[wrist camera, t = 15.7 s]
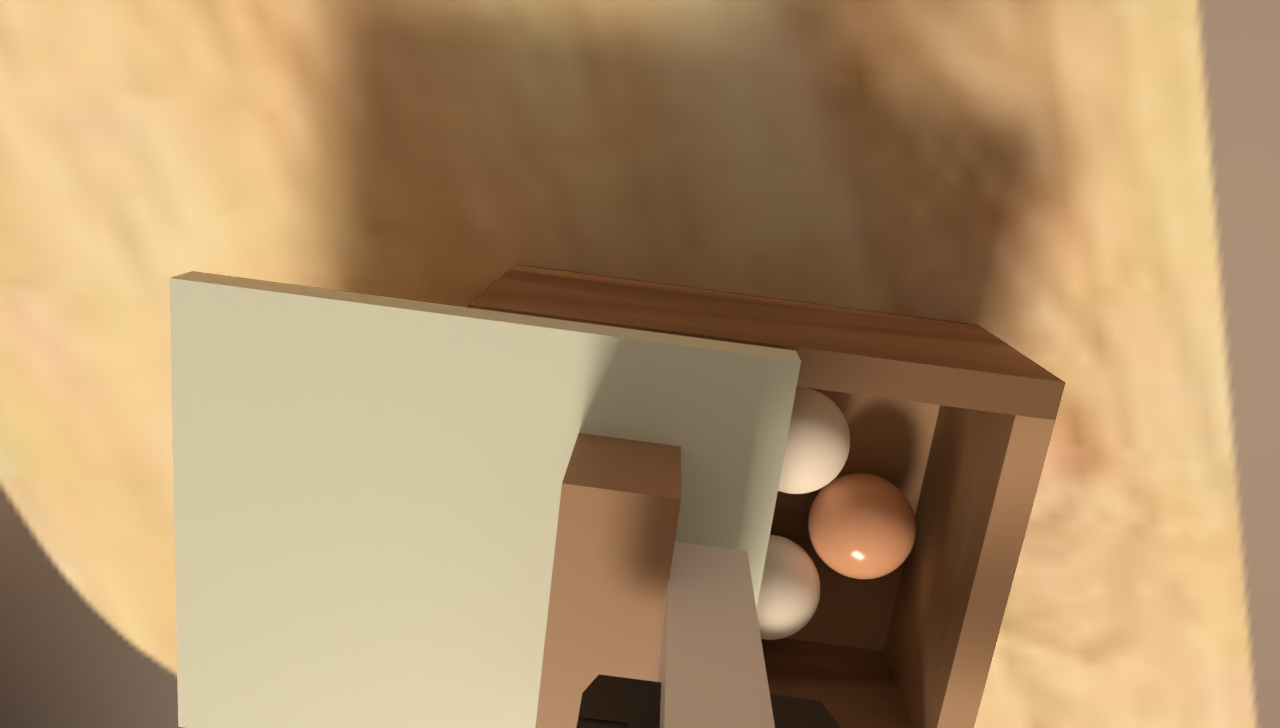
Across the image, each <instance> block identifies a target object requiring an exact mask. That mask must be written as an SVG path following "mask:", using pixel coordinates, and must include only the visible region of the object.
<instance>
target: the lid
mask: <svg viewBox="0 0 1280 728" xmlns="http://www.w3.org/2000/svg"><path fill="white" fill-rule="evenodd" d="M170 306H171V359H172V413H173V466H174V519H175V573H176V626H177V679H178V726H179V727H185V728H576V727H577V721H578V716H579V710H580V704H581V698H582V693H583V692H584V691H585V690H586V688H587V687H588V686H589V685H590V684H591V683H592V682H593V680H594V679H595V678H596V677H597V676H598V675H599V674H600V675H608V676H616V677H623V678H631V679H639V680H647V681H654V679H655V672H656V665H657V658H658V651H659V644H660V637H661V630H662V623H663V616H664V609H665V601H666V594H667V587H668V582H669V578H670V571H671V564H672V558H673V551H674V544H675V542H679V543H687V544H695V545H703V546H711V547H718V548H726V549H734V550H742V551H747V553H748V559H749V566H750V572H751V578H752V585H753V591H754V597H755V604H756V609H757V604H758V598H759V593H760V587H761V581H762V576H763V570H764V565H765V559H766V554H767V548H768V543H769V537H770V532H771V526H772V520H773V515H774V509H775V504H776V498H777V493H778V487H779V482H780V476H781V471H782V465H783V459H784V454H785V448H786V443H787V437H788V432H789V426H790V421H791V415H792V409H793V404H794V398H795V393H796V387H797V382H798V376H799V371H800V365H801V360H800V358H799V356H798V354H797V352H796V351H795V350H787V349H780V348H772V347H764V346H757V345H749V344H742V343H734V342H726V341H719V340H711V339H704V338H696V337H688V336H681V335H673V334H666V333H658V332H650V331H643V330H635V329H628V328H620V327H612V326H605V325H597V324H590V323H582V322H574V321H567V320H559V319H552V318H544V317H536V316H529V315H521V314H514V313H506V312H498V311H491V310H483V309H476V308H468V307H460V306H453V305H445V304H438V303H430V302H422V301H415V300H407V299H400V298H392V297H384V296H377V295H369V294H362V293H354V292H346V291H339V290H331V289H324V288H316V287H308V286H301V285H293V284H286V283H278V282H270V281H263V280H255V279H248V278H240V277H232V276H225V275H217V274H210V273H202V272H194V271H192V272H189V273H185V274H182V275H178V276H175V277H172V278H170Z"/></svg>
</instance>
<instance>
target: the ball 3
mask: <svg viewBox="0 0 1280 728" xmlns="http://www.w3.org/2000/svg"><path fill="white" fill-rule="evenodd" d="M808 529H809V535H810V539H811V542H812V545H813V547H814V549H815V551H816V552H817V554H818V555H819V557H820V558H821V559H822V560H823V561H824V562H825V564H827V565H828V566H829V567H830V568H832V569H833V570H835V571H836V572H838V573H840V574H842V575H844V576H847V577H851V578H856V579H874V578H878V577H882V576H884V575H887V574H889V573H891V572H892V571H894V570H895V569H897V568H898V567H899V566H900V565H901V564H902V563H903V562H904V561H905V560H906V558H907V557H908V555H909V554H910V552H911V550H912V547H913V544H914V541H915V535H916V522H915V516H914V512H913V509H912V507H911V505H910V503H909V501H908V499H907V498H906V496H905V495H904V494H903V493H902V492H901V491H900V489H899V488H897V487H896V486H895V485H894V484H892V483H891V482H889V481H888V480H886V479H884V478H882V477H879V476H876V475H873V474H867V473H852V474H847V475H843V476H840V477H838V478H836V479H834V480H832V481H831V482H830V483H829V484H827V485H826V486H824V487H823V488H822V489H821V490H820V492H819V493H818V494H817V496H816V498H815V499H814V501H813V503H812V506H811V508H810V512H809V519H808Z"/></svg>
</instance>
